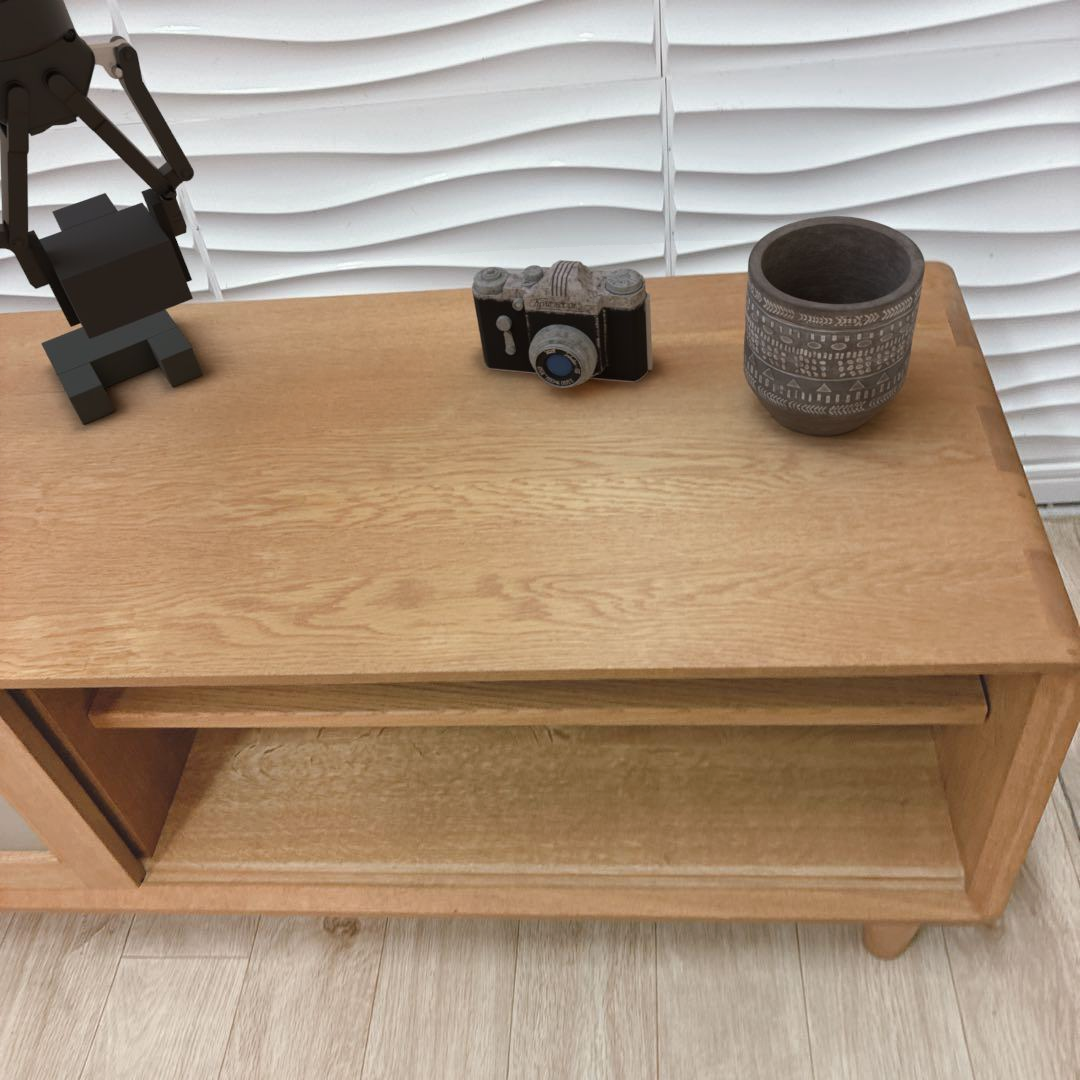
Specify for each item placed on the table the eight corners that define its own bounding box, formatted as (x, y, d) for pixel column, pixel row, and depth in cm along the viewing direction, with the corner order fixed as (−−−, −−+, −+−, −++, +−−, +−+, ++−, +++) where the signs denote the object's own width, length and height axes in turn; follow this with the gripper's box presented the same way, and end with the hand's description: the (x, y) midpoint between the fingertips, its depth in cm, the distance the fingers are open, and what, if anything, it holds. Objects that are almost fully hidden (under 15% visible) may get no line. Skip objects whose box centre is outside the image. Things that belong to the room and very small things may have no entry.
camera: (467, 391, 90) (447, 290, 83) (490, 343, 95) (474, 242, 88) (640, 408, 87) (635, 303, 79) (656, 357, 91) (653, 253, 84)
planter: (847, 339, 90) (865, 199, 81) (932, 424, 82) (963, 279, 73) (715, 381, 88) (717, 242, 79) (789, 472, 80) (801, 330, 71)
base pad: (83, 425, 93) (68, 398, 90) (55, 369, 99) (40, 343, 97) (203, 374, 96) (192, 347, 94) (168, 323, 102) (157, 297, 100)
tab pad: (89, 339, 78) (60, 280, 75) (55, 276, 85) (27, 219, 81) (193, 298, 81) (170, 239, 77) (152, 241, 87) (129, 184, 84)
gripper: (133, -85, 70) (239, 227, 87) (-202, 8, 64) (-20, 324, 81) (167, -58, 66) (272, 266, 82) (-191, 45, 60) (0, 373, 76)
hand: (127, 295), depth 81 cm, fingers closed on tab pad, 8 cm apart
